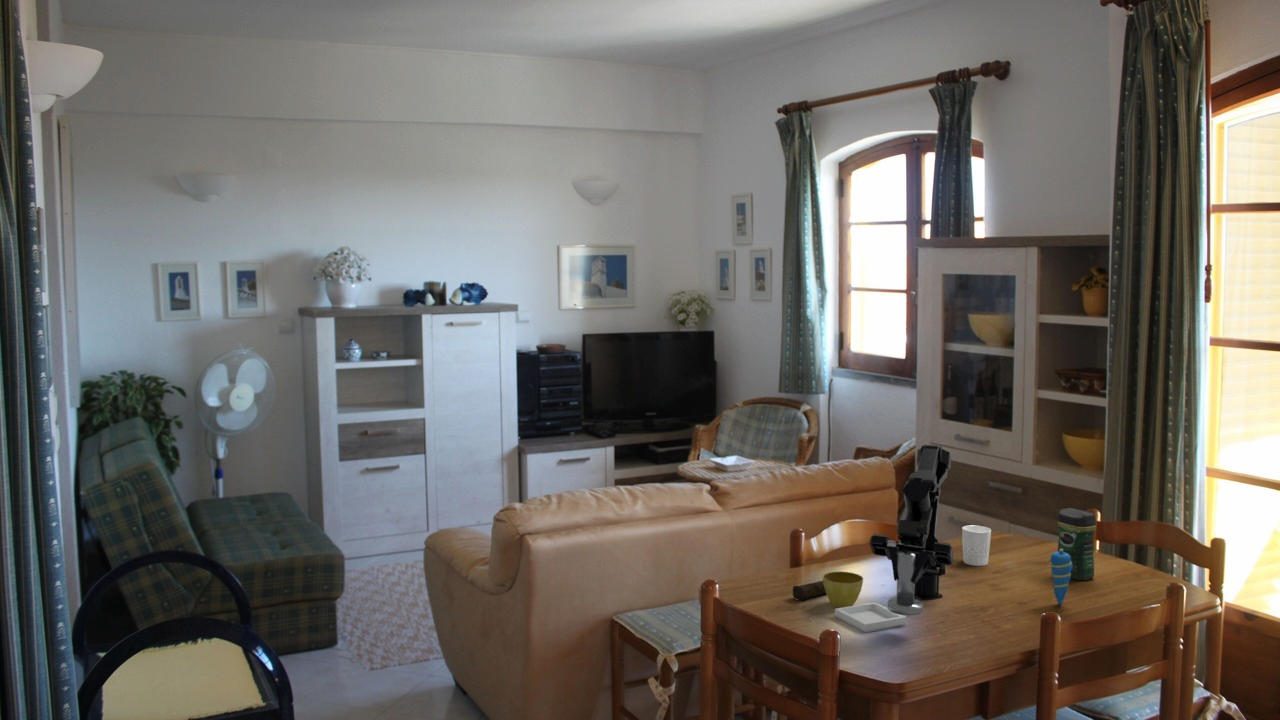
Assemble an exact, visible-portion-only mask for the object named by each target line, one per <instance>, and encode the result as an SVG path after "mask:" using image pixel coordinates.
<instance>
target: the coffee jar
mask: <svg viewBox="0 0 1280 720" xmlns="http://www.w3.org/2000/svg"><path fill="white" fill-rule="evenodd" d="M1056 523H1057V527H1058V544H1057V552H1059V549H1060V548H1061V549H1062V548H1063V552H1065V553H1068V554H1069V555H1070V557H1071V562H1072V566H1073V567H1072V570H1071V572H1070V573H1071V578H1070V579H1073V580H1076V581H1077V580H1082V581H1087V580H1091V579H1092V578H1094V577H1095V562H1094V561H1095V560H1094V559H1095V558H1094V536H1095V531H1096V529H1097V521H1096V515H1095V513H1093V512H1087V511H1085V510H1081V509H1078V508H1077V509H1076V508H1072V507H1068V508H1061V509H1060V510H1059V512H1058V517H1057V522H1056Z"/></svg>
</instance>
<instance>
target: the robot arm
mask: <svg viewBox="0 0 1280 720" xmlns="http://www.w3.org/2000/svg"><path fill="white" fill-rule="evenodd" d="M916 453H917V454H916V461H915V462H916V465H917V471H915V472H912V473H910V475H909V477H908V480H906V482H905V484H904V487H903V488H902V493H903V498H904V505H905V507H906V514H905V517H904V519H898V520H897V521H898V522H897V530H896V534H897V535H898V536H897V539H898V540H899V542H898V541H896V540H890V537H889V535H883V534H878V533H877V534H876V533H874V534H872V536H870V539H869V543H868V544H869V547H870V549H871V552H872V554H873V555H875V556H880V557H887V560H889V561H891V567H892V574H893V580H894V582H897V566H898V551H903V550H907V551H913V552H915V553H916V560H915V573H914V578H913V583H914V584H915V593H914V597H916V598H918V599H920V600H923V601H926V600H927V601H928V600H931V599H938V598H944V595H943V594H942V593H940V592H939V591H940V590H939V589H940V588H939V587H940V585H939V584H940V577H942V576H945V575H946V566H952V565H953V563H954V558H955V555H954V551H953V547H952V545H951V544H950V543H946V542H940V541H939V540H938V538H937V528H938V527H937V526H938V516H939V515H938V514H939V505H940V503H939V502H940V496H941V492H942V489H941V485H942V484H943V483H944V481H945V480H946V479H947V478H948V472H949V470H951V468H952V467H951V466H952V456H951V453H950V451H948V450H945V449H944V448H942V446H940V445H937V444H936V445H935V444H923V445H921V447H920V448H919V449H917V452H916Z"/></svg>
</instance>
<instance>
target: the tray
mask: <svg viewBox="0 0 1280 720" xmlns="http://www.w3.org/2000/svg"><path fill="white" fill-rule="evenodd" d="M836 617H837V618H836ZM834 618H836V619H838V618H839V619H838V620H840V619H841V620H840V621H843V622H844V623H846V624H848V625H850V626H851V627H854V628H855V629H858V630H859V631H861V632H863V633H865V634H867V633H872V632H877V631H883V630H887V629H892V628H898V627H905V626H907V616H906V615H900V614H896V613H893V612H891V611H889V610H888V607H886V606H884V605H881V604H879V602H875V601H872V602H866V603H861V604H854V605H853V606H848V607H842V608H839V607H836V608H834Z"/></svg>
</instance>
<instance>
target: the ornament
mask: <svg viewBox="0 0 1280 720" xmlns="http://www.w3.org/2000/svg"><path fill="white" fill-rule="evenodd" d="M1050 563H1051V567H1050V570H1051V574H1052V583H1053V586H1054V587H1053V592H1054V595H1055V598H1056V602H1057V605H1059V606H1062V605H1063V603H1064V601H1065V600H1064V599H1065V597H1066V596H1067V593H1068V590H1069V587H1070V586H1069V585H1070V584H1069V583H1070V580H1071V579H1072V578H1071V573H1070V572H1071V570H1072V567H1073V566H1072V562H1071V557H1070V555H1069V554H1068V553H1065V552H1063V548H1062V549H1061V548H1060V549H1059V552H1058V551H1054V552H1052V554H1051V556H1050Z"/></svg>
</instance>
